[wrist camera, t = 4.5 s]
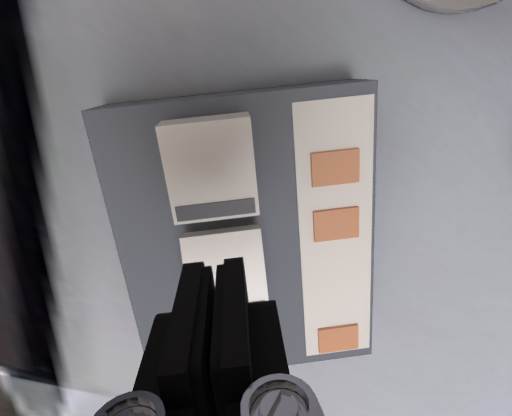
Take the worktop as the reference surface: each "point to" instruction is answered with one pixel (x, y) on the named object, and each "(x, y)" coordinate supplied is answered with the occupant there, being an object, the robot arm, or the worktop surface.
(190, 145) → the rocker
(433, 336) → the worktop surface
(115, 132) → the switch unit
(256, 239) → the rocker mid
